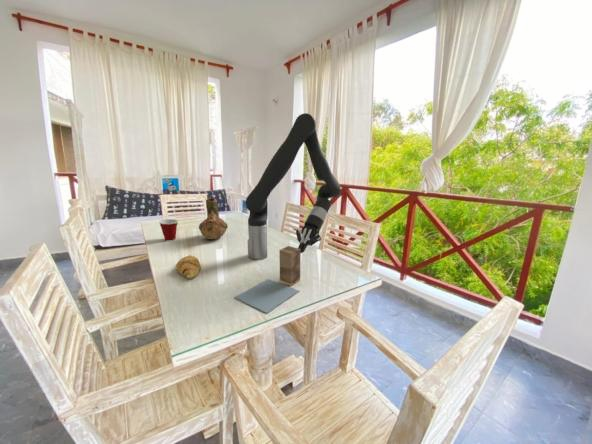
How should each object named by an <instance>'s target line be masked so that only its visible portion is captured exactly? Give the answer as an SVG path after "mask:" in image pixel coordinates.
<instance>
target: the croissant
mask: <svg viewBox="0 0 592 444" xmlns="http://www.w3.org/2000/svg"><path fill="white" fill-rule="evenodd" d="M201 269H202V268H201V263H200V261H199V258H197V257H196V256H194V255H187V256H186V255H185V256H184V257H182V258H180V259H179V260H178V261H177V262H176V264H175V271H176V272H178V274H180V275H182V274H183V275H182V276H183V277H185V278H187V279H189V280H191V279H194V276H195V277H196V276H197V275H198V274H199V272H200V271H201ZM199 270H200V271H199Z"/></svg>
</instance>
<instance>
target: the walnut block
mask: <svg viewBox="0 0 592 444" xmlns="http://www.w3.org/2000/svg"><path fill="white" fill-rule="evenodd" d="M300 250H301V249H298V247H294V246H291V245H290V246H286V247H283V248H281V249H279V283H280V284H283V285H285V286H288V287H292V286H294V285H296V284H297V283H299V282H300V281H301V253H300Z"/></svg>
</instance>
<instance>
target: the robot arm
mask: <svg viewBox="0 0 592 444" xmlns="http://www.w3.org/2000/svg"><path fill="white" fill-rule="evenodd" d="M316 126H317V123H316V120H315V117H314V116H313V115H312V114H310V113H301V114H299V115H298V116H297V117H296V118H295V121H294V123H293V125H292V126H291V127H292V128H291V129H290V131H289V133H288V134H287V136H286V138H285V140H284V141H283V142H282V144H280V146H279V148H278V149H277V150H276V151H275V154H274V155H273V156H272V158H271V160H270V161H269V162H268V164H267V166H266V168H265V169H264V171H263V173H262V175H261V178H260V179H259V180H258V183H257V184H256V186H254V188H253V189H252V191H251V192H250V193H249V194H248V195H247V197H246V199H245V208H246V209H247V210H248V211H249V215H248V220H247V226H248V228H247V229H248V239H247V257H248V259H252V260H263V259H266V258H268V225H267V224H268V221H267V220H268V212H269V211H268V208H269V206H268V198H269V196H270V195H271V193H272V192H273V190H274V189H275V188H276V187H277V185H279V183H280V182H281V181H282V180H283V178H285V176H286V175H287V173H288V172H289V170H290V168H291V167H292V165H293V163H294V161H295V159H296V158H297V155H298V153H299V151H300V149H301V147H302V146H303V144H304V145H305V147H306V149H307V152H308V156H309V159H310V163H311V165H312V168H313V171H314V174H315V176H316V179H317V180H318V181H323V182H324V184H322V185H321V186H320V187H319V188H318V192H317V197H316V201H315V203H314V205H313V207H312V209H311V210H310V211H309V214H308V216H307V218H306V220H305V222H304V225H303V226H302V227H301V229H299V230H298V229H296V230H295V235H296V238H297V239H296V240H297V241H298V242H299V245H298V247H297V248H298V249H301V250H300V254H304V252H305V251H306V250H307V247H309V246H310V247H311V246H313V245H315V244H316V243H318V242H319V241H321V240H322V236H321V235H320V231H321V229H322V227H323V225H324V223H325V221H326V218H327V215H328V214H329V213H328V212H329V211H330V209H331V207H332V202H331V201H330V200H329V199H331V198H337V197H339V196H340V195H341V192H342V187H341V184H340V182H339V181H338V180H337V178H336V177H335V175H334V174H333V172H332V170H331V168H330V166H329V163H328V159H327V158H326V155H325V153H324V151H323V148H322V147H321V144H320V142H319V141H320V140H319V137H318V134H317V128H316Z"/></svg>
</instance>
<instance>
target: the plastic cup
mask: <svg viewBox="0 0 592 444" xmlns="http://www.w3.org/2000/svg"><path fill="white" fill-rule="evenodd" d="M158 223H159V226H160V227H161V232H162V235H163V238H164V240H165V241H166V240H172V241H174V240H173V239H175V240H176V235H177V228H178V223H179V220H178V219H173V218H167V219H166V218H165V219H160V220H159V221H158Z"/></svg>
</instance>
